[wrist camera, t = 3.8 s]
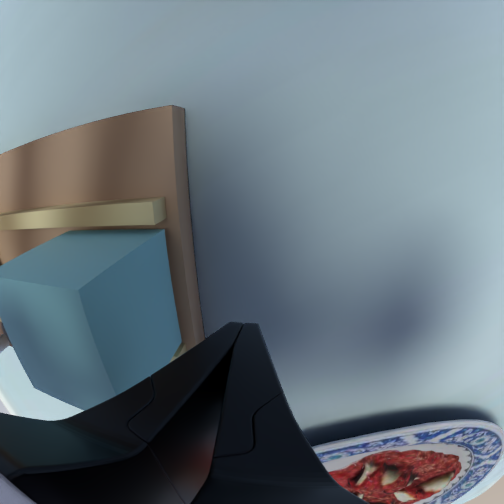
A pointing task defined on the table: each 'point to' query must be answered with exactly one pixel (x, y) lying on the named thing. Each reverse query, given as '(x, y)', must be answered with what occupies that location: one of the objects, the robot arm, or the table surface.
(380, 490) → the ceramic plate
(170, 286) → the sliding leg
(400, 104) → the table surface
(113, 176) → the board
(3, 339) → the fixed leg
